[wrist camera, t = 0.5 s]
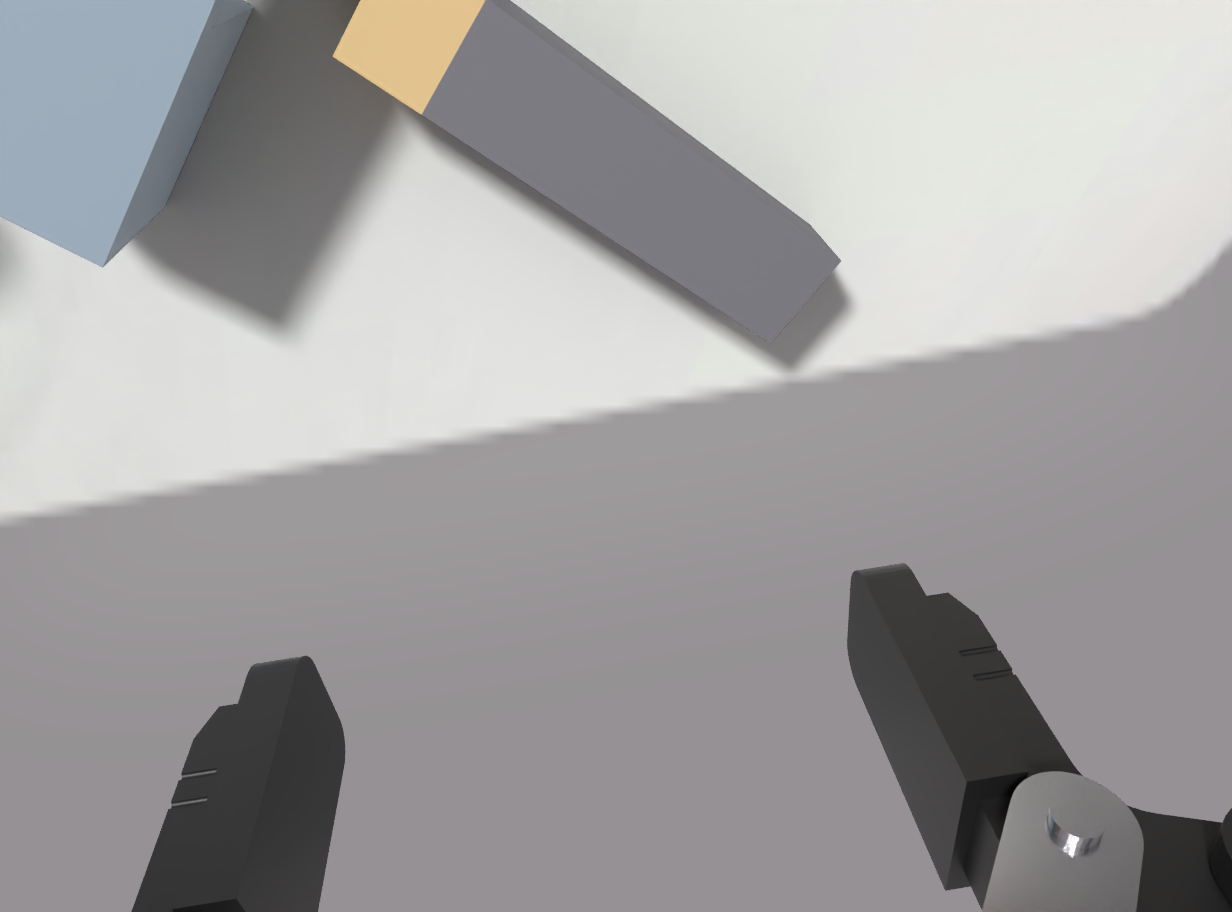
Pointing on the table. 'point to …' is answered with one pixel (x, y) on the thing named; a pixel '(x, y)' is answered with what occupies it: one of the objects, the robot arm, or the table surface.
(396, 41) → the bar
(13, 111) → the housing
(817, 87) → the table surface
